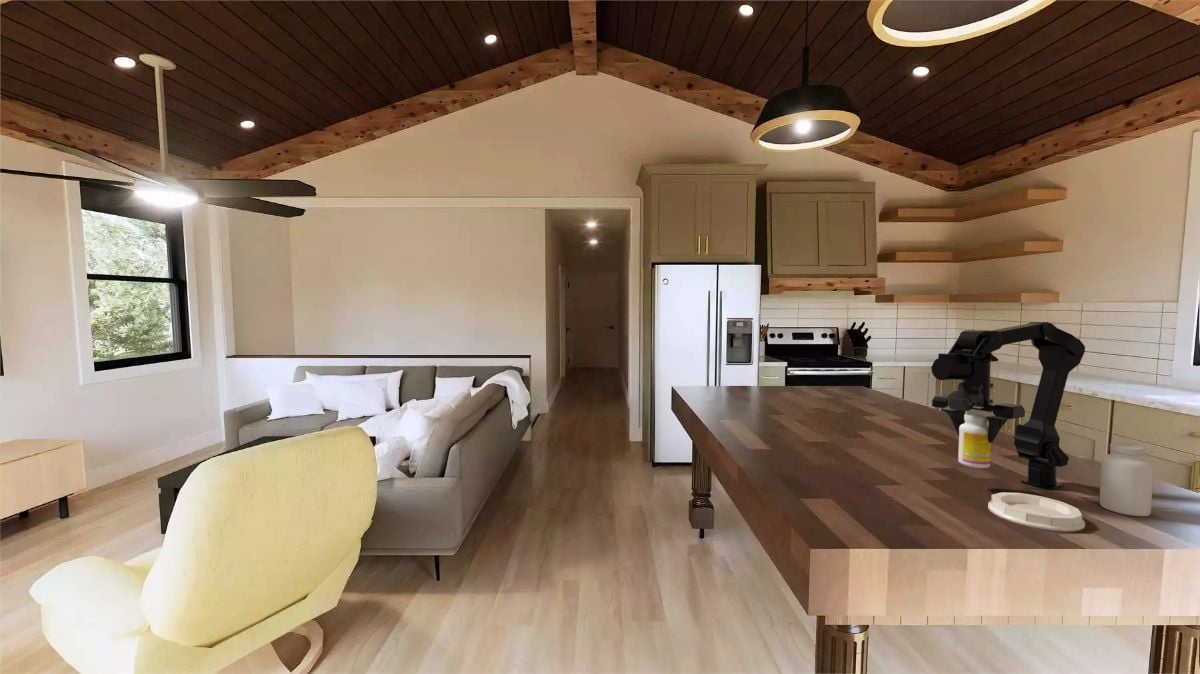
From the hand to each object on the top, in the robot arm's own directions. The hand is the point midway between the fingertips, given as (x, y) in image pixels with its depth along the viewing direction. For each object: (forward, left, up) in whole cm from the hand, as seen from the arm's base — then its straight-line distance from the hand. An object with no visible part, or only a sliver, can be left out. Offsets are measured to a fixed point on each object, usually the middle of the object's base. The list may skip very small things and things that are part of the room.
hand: (974, 439), depth 124 cm
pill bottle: (-15, +23, -13) cm, 30 cm away
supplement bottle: (0, 0, -7) cm, 7 cm away
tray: (+7, +16, -13) cm, 21 cm away
